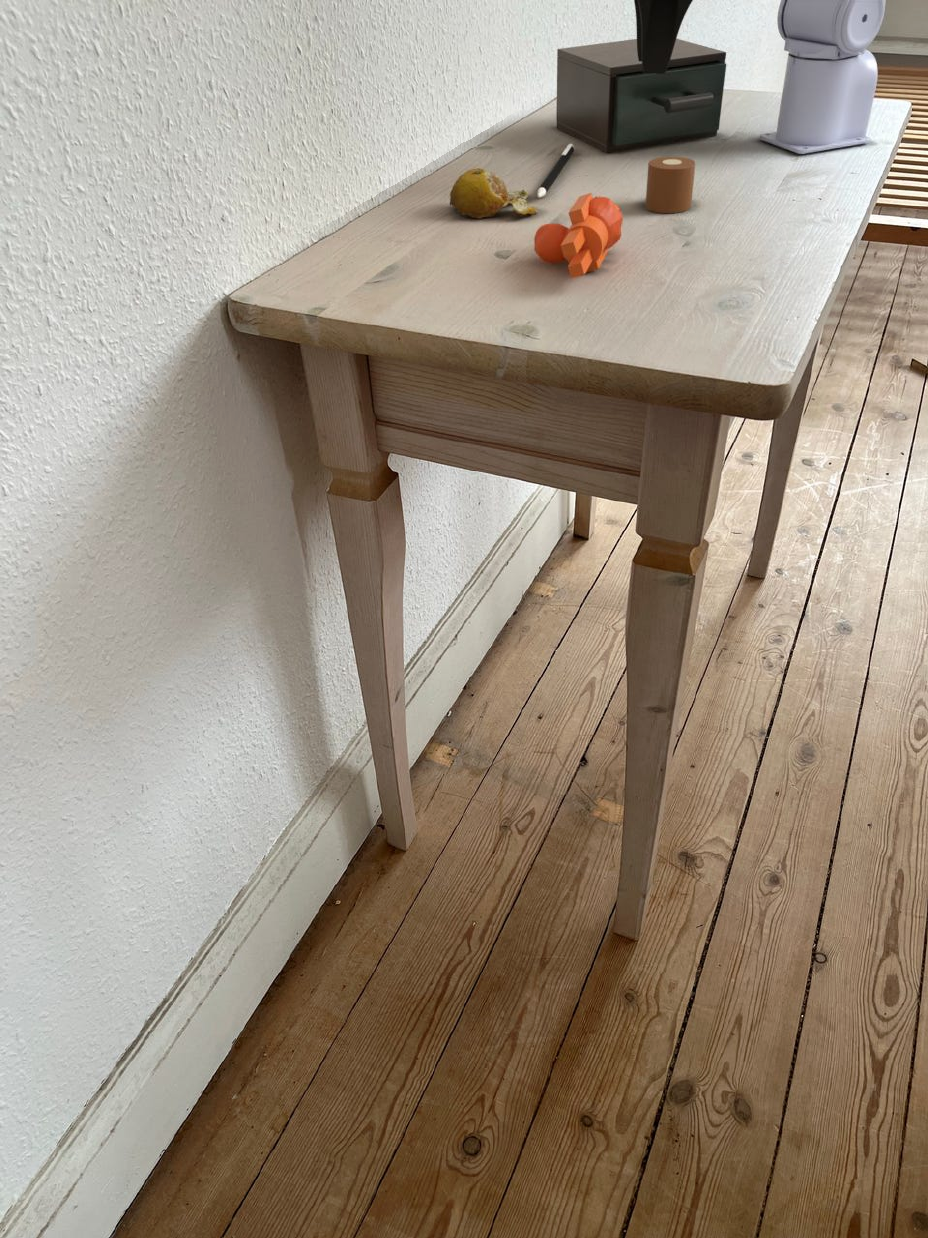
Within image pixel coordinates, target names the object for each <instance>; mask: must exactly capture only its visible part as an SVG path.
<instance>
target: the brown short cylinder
mask: <svg viewBox="0 0 928 1238" xmlns="http://www.w3.org/2000/svg"><path fill="white" fill-rule="evenodd" d="M695 172H696V161H695V160H694V159H692V158H689V157H685V156H677V155H672V156H671V155H669V156H659V157H656V158H652V159H650V160H649V161H648V165H647V179H646V190H645V205H644V206H645V208H646V209H647V210H648V211H651V212H653V213H659V214H678V213H682V212H685V211H688V210H690V209H691V207H692V201H693V191H694V181H695Z"/></svg>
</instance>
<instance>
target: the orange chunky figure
mask: <svg viewBox="0 0 928 1238" xmlns="http://www.w3.org/2000/svg"><path fill="white" fill-rule="evenodd" d="M621 211H622V210H621V208H620V207H619V206H618V204H616V203H614V202H613V201H612V199H610V198H609V197H606V196H594V197H593V193H592V192H590V193H586V194H583V195H580V196H578V197H577V199H576V201H575V202H574V203H573V205H572V206H571V208H570V210H569V211H568V216H569V219H570V223H571V225H570V227H567V226H565V225H563V224H561V223H553V222H552V223H551V222H550V223H545V224H542V225H541V226H539V227H538V229H537V230H536V231H535V234H534V239H533V240H534V241H533V243H534V252H535V253H536V255H537V256H538V257H539V259H541V260H542V261H543V262H545V263H547V264H550V265H557V264H561V263H564V262H566V261H567V262H568V263H569V264H568V265H567V268H568V271H569V274H570V278H571V279H574V278H578V277H581V276H585V274H586V273H589V272H593V271H596V270H599V269H600V268H601V265H602V263H603V262H604V259H605V258H606V256H607V254H608V252H609V249H611V248H613V246H615V244H617V243H618V242H619V240H621V237H622V225H623V220H624V219H623V212H621Z"/></svg>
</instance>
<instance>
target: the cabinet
mask: <svg viewBox="0 0 928 1238" xmlns="http://www.w3.org/2000/svg"><path fill="white" fill-rule="evenodd" d="M726 58H727V52H726V51H723V50H721V49H716V48H712V47H708V46H706V45H702V44H699V43H696V42H695V43H694V42H691V41H687V40H683V39H680V38H678V37H677V38H676V42H675V45H674V49H673V52H672V55H671V59H670V62H669V65H668V68H671V67H679V66H686V65H693V64H700V63H709V64H710V63H717V62H722V63H726V60H727V59H726ZM642 71H643V67H642V61H639V60H638V53H637V38H633V39H625V40H617V41H609V42H608V41H607V42H601V43H593V44H586V45H578V46H577V45H576V46H570V47H562V48H557V49H556V109H555V110H556V117H555V118H556V119H555V121H556V124H555V128H556V129H557V130H559V131H561V132H563V133H565V134H567V135H570V136H571V137H573V138H575V139H578V140H580V141H582V142H583V143H585V144H588V145H589V146H591V147H593V148H595V149H598V150H600V151H601V152H603V153H606V154H609V153H616V152H623V151H629V150H634V149H641V148H648V147H652V146H653V147H654V146H660V145H667V144H672V143H679V142H685V141H691V140H696V139H697V140H698V139H704V138H709V137H716V136H718V135H717V134H718V130H716V131H710V132H703V133H697V134H691V135H684V136H678V137H672V138H665V139H659V140H653V141H646V142H640V143H634V144H627V145H621V146H615V145H613V144H612V130H613V110H614V90H615V77H616V75H620V74H628V73H635V72H642Z"/></svg>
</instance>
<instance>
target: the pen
mask: <svg viewBox="0 0 928 1238" xmlns="http://www.w3.org/2000/svg"><path fill="white" fill-rule="evenodd" d="M575 150H576V149H575V145H574V144H573V143H568V144H567V146H566V147H565V149H564V150H563V151H562V153H561V154H560V155H561V156H560V158H559V159H558V160H557V162H556V163H555V164H554V166H553V168H552V169H551V170H550V171H549V173H548V175H547V176H546V178H545V179H544V180H543V181H542V183H541V184H540V186H539V187H538V189H537V198H542V197H545V196H546V195H547V193H548V192H549V190H550V189H551V187H552V185H554V183H555V181H556V180H557V178H558V177H559V175H560V174H561V172H562V171H563V169H564V168H565V166H566V165H567V163H568V161H569V160H570V159H571V157H572V156H573V154H574V153H575Z"/></svg>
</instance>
